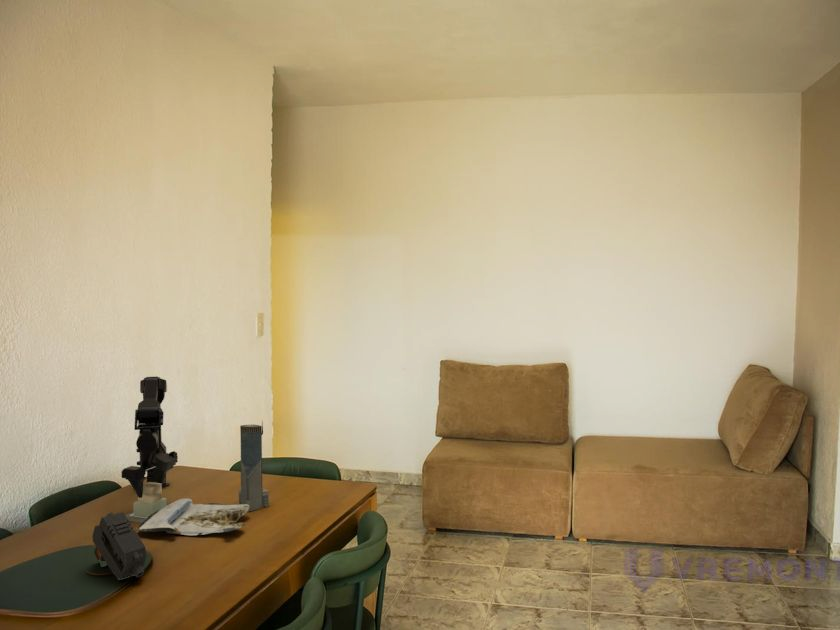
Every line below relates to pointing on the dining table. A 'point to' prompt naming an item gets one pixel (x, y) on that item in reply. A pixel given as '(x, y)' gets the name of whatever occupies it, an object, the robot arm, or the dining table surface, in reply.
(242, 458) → the building
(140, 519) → the slate mat
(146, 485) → the birch cube
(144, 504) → the sage block
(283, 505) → the dining table surface
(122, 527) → the tool
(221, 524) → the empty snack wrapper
